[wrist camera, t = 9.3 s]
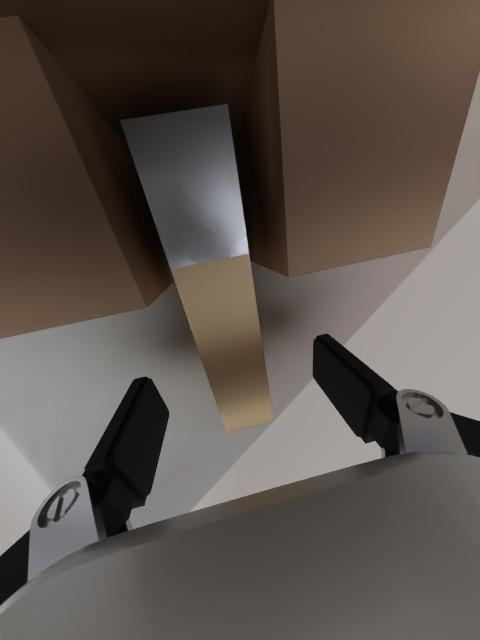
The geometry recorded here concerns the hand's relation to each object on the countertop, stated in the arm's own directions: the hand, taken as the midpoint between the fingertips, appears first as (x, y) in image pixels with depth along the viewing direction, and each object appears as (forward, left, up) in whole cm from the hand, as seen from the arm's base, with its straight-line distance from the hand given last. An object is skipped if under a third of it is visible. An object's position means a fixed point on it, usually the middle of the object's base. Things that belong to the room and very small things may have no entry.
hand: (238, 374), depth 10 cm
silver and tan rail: (-3, 0, -5) cm, 6 cm away
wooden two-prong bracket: (-9, 0, -5) cm, 11 cm away
